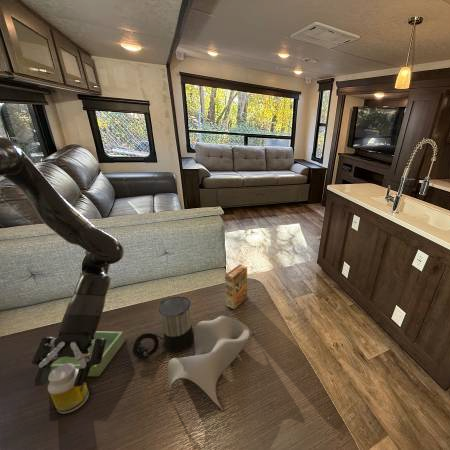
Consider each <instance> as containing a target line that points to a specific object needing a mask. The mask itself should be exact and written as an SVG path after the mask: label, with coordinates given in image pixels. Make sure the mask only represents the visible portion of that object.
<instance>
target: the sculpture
mask: <svg viewBox="0 0 450 450" xmlns="http://www.w3.org/2000/svg"><path fill="white" fill-rule="evenodd" d="M193 333H194V340H193V341H194V342H193V343H194V355H188V356H183V357H172V358H170V360H169V361H168V363H167V381H168V389H169V390H168V391H169V395H170V396H172V394H171V393H172V385H173V383H174V382H175V381H176V380H178V379H186V380H188V381H191V382H193V383H194V384H195V385H197V386H198V387H199V388H200V389H202V391H203V392H204V393H206V395H207V396H208V397H209V398H210V399H211V400H212V402H214V404H215V405H217V407H219V408H220V409H221V410H223V408H222V407H221V405H220V402H219V400H218V396H217V391H216V390H217V389H216V388H217V382H218V380H219V378H220V376H221V375H222V374H223V372H225V370H226V369H227V368H228V367H229V366H230V364H232V363H233V361H234V360H235V359H236V357H238V355H240V353H241V351H242V350H243V348H244V346H246V343H247V342H248V339H249V336H250V334H252V335H253V332H252V331H251V329H250V328H249V327H248V326H247V325H246V324H245V323H244V322H242V321H240V320H238V319H235V318H233V317H230V316H227V315H226V316H225V315H220V316H218V317H216V318H215V319H212V320H202V321H199V322H198V323H197V324H196V326H195V328H194V330H193Z"/></svg>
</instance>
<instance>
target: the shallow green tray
mask: <svg viewBox="0 0 450 450" xmlns="http://www.w3.org/2000/svg"><path fill="white" fill-rule="evenodd" d="M100 338H105V339H106V344H105V348H104V352H103V356H102V361H101V363H100V364H97V365H94V366H92V367H91V368H90V370H89V374H88V377H100V376H101V374H102V373H103V372H104V370H105V369H106V368H107V366H108V365H109V363H110V362H111V361H112V360H113V358H114V357H115V355H116V354H117V353H118V351H119V350H120V348H121V347H122V346H123V344H124V343H125V342H126V340H125V335H124V331H111V330H110V331H108V330H107V331H105V330H103V331H102V330H101V331H100V330H96V332H95V334H94V339H100ZM89 350H90V353H91V355H92V351H93V347H92V345H91V346H90V347H89ZM67 363H71V364H73V365H74V366H75V368H76V369H81V366H80V364H79V361H77V360H76V357H61V358H59V359H58V360H56V361H55V362H54V363H53V364H52V365H51V366H50V367H52V368H51V371H50V373H51V372H52V371H53V370H54V369H55V368H57V367H59V366H61V365H63V364H67ZM50 373H49V374H50Z"/></svg>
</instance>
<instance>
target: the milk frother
mask: <svg viewBox="0 0 450 450" xmlns="http://www.w3.org/2000/svg"><path fill="white" fill-rule="evenodd" d="M191 305H192V302H191V300H190V299H189V298H188V297H185V296H178V295H177V296H172V297H171V296H168V297H165V298H163V299H162V300H160V305H159V306H158V308H157V312H158V314H159V316H160V322H161V327H162V333H163V336H160V335H157V334H155V333H151V332H146V333H143V334H141V335H139V336H138V337H137V338H136V339H135V341H134V342H133V344H132V354H133V356H134V357H135V358H138V359H146V358H148V357H150V356H152V355H154V354H155V353H156V351H158V349H159V344H160V342H159V339H161V340H163V346H164V348H165V349H166V350H167V351H169V352H180V351H183V350H185V349H187V348H188V347H189V346H191V344H192V343H194V342H193V341H194V330H193V321H192V309H191ZM158 338H159V339H158ZM145 339H150V340H152V341H153V343H154V344H153V347H152V349H150V351H148V348H147V347H145V346H144V344H143V343H142V341H143V340H145Z"/></svg>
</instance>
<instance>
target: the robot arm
mask: <svg viewBox="0 0 450 450" xmlns="http://www.w3.org/2000/svg"><path fill="white" fill-rule="evenodd" d="M1 177H3V178H4V179H6V180H8V181H9V182H10V183H12V184H13V185H14V186H16V188H18V189H19V190H20V191H21V192H22V193H23V194H24V195H25V197H26V198H27V199H28V201H29V202H30V204H31V205H32V207H33V209H34V211H35V212H36V214H37V216H38V217H39V219H40V220H41V221H42V222H43V223H44V225H46V226H47V227H48V228H49V229H50V230H51V231H53V232H54V233H55V234H57V235H58V236H59V237H60V238H62V239H63V240H64V241H66V242H67V243H69V244H70V245H76V246H79V247H80V248H82V249H84V250H85V251H84V253H83V256H82V260H81V264H80V271H79V272H80V274H79V278H78V281H77V283H76V285H75V288H74V290H73V294H72V296H71V298H70V300H69V302H68V304H67V307H66V309H65V312H64V314H63V318H62V320H61V323H60V326H59V328H58V335H57V337H55V336H44V337H42V339H41V340H40V343H39V345H38V347H37V349H36V352H35V353H34V356H33V358H32V360H31V364H32V365H36V366H38V371H37V373H36V376H35V378H34V386H35V387H41V386H44V385H46V383H48V380H49V379H48V376H49V373H50V371H51V368H52V367H50V366H51V365H52V364H53V363H54V362H55V361H56V360H58V359H59V358H61V357H76V360H77V361H79V364H80V366H81V369H79V371H78V374H77V377H76V380H75V383H74V386H75V387H78V386H81V385H83V383H86V382H87V380H88V377H89V376H88V374H89V370H90V368H91V367H92V366H94V365H97V364H100V363H101V361H102V356H103V352H104V348H105V344H106V339H105V338H100V339H94V334H95V332H96V331H98V327H99V323H100V320H101V317H102V314H103V312H104V309H105V303H106V299H107V295H108V292H109V288H110V286H111V279H112V278H111V277H110V276H109V271H110V266H111V265H113V264H116V263H118V262H120V261H121V260H122V258H123V257H124V254H125V250H124V247H123V245H122V244H121V242H119V240H118V239H116V238H115V237H114V236H112V235H110V234H109V233H107V232H106V231H104V230H103V229H102V228H101V229H100V228H99V227H97V226H95V225H94V224H93V223H92V222H91V221H90V220H89V219H88V218H87V217H86V216H84V215H83V214H82V213H81V212H80V211H78V210H77V209H76V208H75V207H74V206H73V205H72V204H71V203H70V202H69V201H67V199H65V198H64V197H63V195H61V193H60V192H59V191H58V190H57V189H56V188H55V187H54V186H53V185H52V184H51V182H50V181H49V180H48V178H46V176H45V175H44V174H43V173H42V172H41V170H39V168H38V167H37V166H36V165H35V164H34V162H33V161H32V159H30V158H29V156H28V155H27V154H26V153H25V151H24V150H22V148H21V147H19V145H18V144H17V143H16V142H14V141H13V140H11V139H10V138H8V137H6V136H4V135H0V178H1ZM91 345H92V347H93V351H92V355H91V353H90V350H89V347H90V346H91ZM53 346H54V347H55V348H53V350H52V347H53Z"/></svg>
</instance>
